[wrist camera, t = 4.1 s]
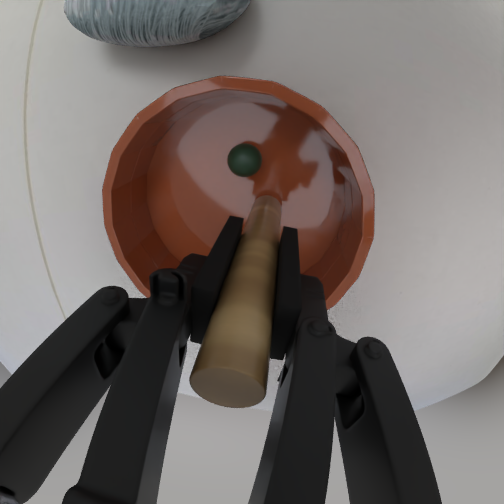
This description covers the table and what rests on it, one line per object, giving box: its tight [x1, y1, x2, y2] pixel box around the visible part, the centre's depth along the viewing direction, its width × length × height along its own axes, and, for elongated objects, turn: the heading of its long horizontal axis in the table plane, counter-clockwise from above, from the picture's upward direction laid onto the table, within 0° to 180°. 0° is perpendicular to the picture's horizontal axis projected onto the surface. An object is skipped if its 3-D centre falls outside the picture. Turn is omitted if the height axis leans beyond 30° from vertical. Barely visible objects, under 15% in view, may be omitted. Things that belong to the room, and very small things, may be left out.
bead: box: [227, 143, 262, 177], centre depth 18 cm, size 2×2×2 cm
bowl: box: [102, 76, 375, 310], centre depth 19 cm, size 18×18×6 cm
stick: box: [189, 195, 282, 408], centre depth 13 cm, size 2×2×15 cm
